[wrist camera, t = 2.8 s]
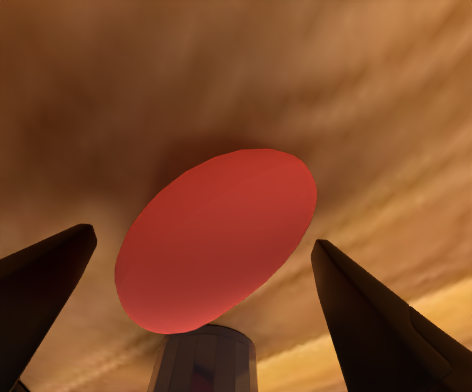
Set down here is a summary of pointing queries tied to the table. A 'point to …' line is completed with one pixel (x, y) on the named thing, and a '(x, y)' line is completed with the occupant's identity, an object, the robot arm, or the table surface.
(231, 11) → the table surface
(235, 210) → the stress ball
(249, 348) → the cup
